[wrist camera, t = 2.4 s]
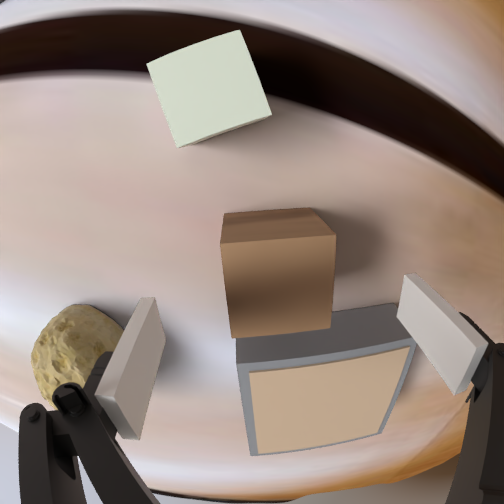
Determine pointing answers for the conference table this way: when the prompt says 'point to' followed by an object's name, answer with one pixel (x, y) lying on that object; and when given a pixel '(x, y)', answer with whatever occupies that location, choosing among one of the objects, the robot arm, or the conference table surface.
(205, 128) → the sage cube
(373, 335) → the plinth
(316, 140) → the conference table surface
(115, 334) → the decorative item
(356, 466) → the conference table surface
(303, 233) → the walnut cube
